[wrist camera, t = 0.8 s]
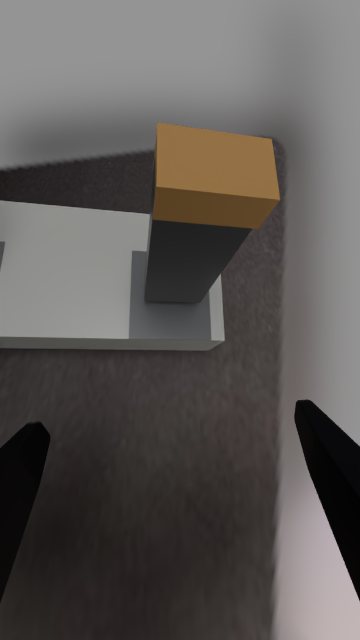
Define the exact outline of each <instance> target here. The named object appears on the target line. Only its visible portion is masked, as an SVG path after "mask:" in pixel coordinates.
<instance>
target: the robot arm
mask: <svg viewBox="0 0 360 640" xmlns="http://www.w3.org/2000/svg"><path fill="white" fill-rule="evenodd" d="M294 418H295V424H296V428H297V431H298V435H299V438H300V442H301V445H302V449H303V453H304V457H305V460H306V464H307V467H308V470H309V473H310V476H311V478H312V481H313V483H314V486H315V489H316V491H317V494H318V496H319V499H320V501H321V504H322V506H323V509H324V511H325V514H326V517H327V519H328V522H329V524H330V527H331V529H332V532H333V534H334V537H335V540H336V542H337V544H338V547H339V550H340V552H341V555H342V557H343V560H344V562H345V565H346V568H347V570H348V573H349V575H350V578H351V580H352V583H353V585H354V588H355V590H356V593H357V595H358V598H359V600H360V446H359V445H358V444H357V443H355V442H354V441H353V440H352V439H351V438H350V437H349V436H348V435H347V434H346V433H345V432H344V431H343V430H342V429H341V428H340V427H339V426H337V425H336V424H335V423H334V422H333V421H332V420H331V419H330V418H329V417H328V416H327V415H326V414H325V413H324V412H323V411H321V410H320V409H319V408H318V407H317V406H316V405H315V404H314V403H313V402H312V401H310V400H298V401H297V402H296V407H295V414H294ZM49 444H50V434H49V432H48V431H47V430H46V428H45V427H44V426H43V424H42V423H41V422H39V421H38V422H29V423H27V424H26V425H25V426H24V427H22V428H21V429H20V430H19V431H18V432H17V433H16V434H15V435H14V436H13V437H12V438H11V439H10V440H8V441H7V442H6V443H5V444H4V445H3V446H2V447H1V448H0V602H1V599H2V596H3V593H4V590H5V587H6V584H7V581H8V578H9V575H10V572H11V569H12V566H13V563H14V560H15V557H16V554H17V551H18V548H19V545H20V542H21V539H22V536H23V533H24V530H25V527H26V524H27V521H28V518H29V515H30V512H31V509H32V506H33V503H34V501H35V498H36V495H37V492H38V488H39V485H40V481H41V478H42V473H43V469H44V465H45V461H46V456H47V452H48V448H49Z"/></svg>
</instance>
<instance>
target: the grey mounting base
mask: <svg viewBox="0 0 360 640" xmlns="http://www.w3.org/2000/svg"><path fill="white" fill-rule="evenodd" d="M149 219H150V214H141V213H130V212H119V211H108V210H97V209H86V208H75V207H64V206H53V205H42V204H31V203H20V202H9V201H0V348H33V349H116V350H199V351H209V350H210V349H212V348H213V347H215V346H217V345H218V344H220V343H222V342H223V341H225V339H224V322H223V306H222V289H221V274H220V275H219V277H218V278H217V280H216V281H215V283H214V284H213V285H212V287H211V288H210V290H209V291H208V292H207V294H206V295H205V297H204V298H203V300H202V301H201V302H200V303H194V302H169V301H145V300H144V278H145V265H146V253H147V242H148V230H149Z"/></svg>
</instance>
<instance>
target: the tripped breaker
mask: <svg viewBox="0 0 360 640" xmlns="http://www.w3.org/2000/svg"><path fill="white" fill-rule="evenodd" d="M279 201H280V196H279V189H278V182H277V174H276V167H275V160H274V152H273V145H272V139H267V138H260V137H253V136H246V135H239V134H232V133H226V132H219V131H212V130H205V129H198V128H191V127H184V126H177V125H170V124H163V123H157V131H156V142H155V154H154V172H153V184H152V195H151V207H150V219H149V230H148V242H147V253H146V265H145V278H144V300H145V301H169V302H194V303H200V302H201V301H202V300H203V298H204V297H205V295H206V294H207V292H208V291H209V290H210V288H211V287H212V285H213V284H214V283H215V281H216V280H217V278H218V277H219V275H220V274H221V273H222V271H223V270H224V268H225V267H226V265H227V264H228V263H229V261H230V260H231V258H232V257H233V255H234V254H235V253H236V251H237V250H238V248H239V247H240V246H241V244H242V243H243V241H244V240H245V238H246V237H247V236H248V234H249V233H250V231H251V230H252V228H253V229H259V228H260V226H261V225H262V223H263V222H264V221H265V219H266V218H267V217H268V215H269V214H270V213H271V211H272V210H273V209H274V207H275V206H276V205H277V203H278V202H279Z"/></svg>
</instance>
